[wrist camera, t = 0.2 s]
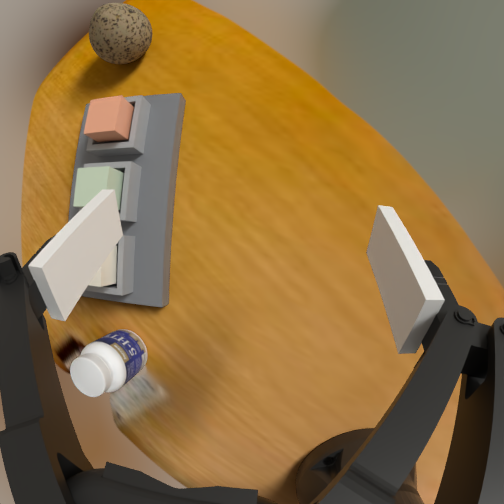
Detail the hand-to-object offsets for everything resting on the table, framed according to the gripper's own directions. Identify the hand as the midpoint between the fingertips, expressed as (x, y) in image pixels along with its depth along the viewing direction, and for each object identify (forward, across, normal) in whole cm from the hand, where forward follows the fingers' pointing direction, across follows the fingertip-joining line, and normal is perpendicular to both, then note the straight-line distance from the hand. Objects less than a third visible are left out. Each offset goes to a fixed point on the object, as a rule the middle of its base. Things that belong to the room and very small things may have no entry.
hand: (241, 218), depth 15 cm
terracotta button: (+16, +15, -1) cm, 22 cm away
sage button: (+12, +15, +4) cm, 20 cm away
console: (+15, +14, +7) cm, 22 cm away
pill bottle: (+6, +13, +21) cm, 26 cm away
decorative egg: (+26, +17, -9) cm, 32 cm away
